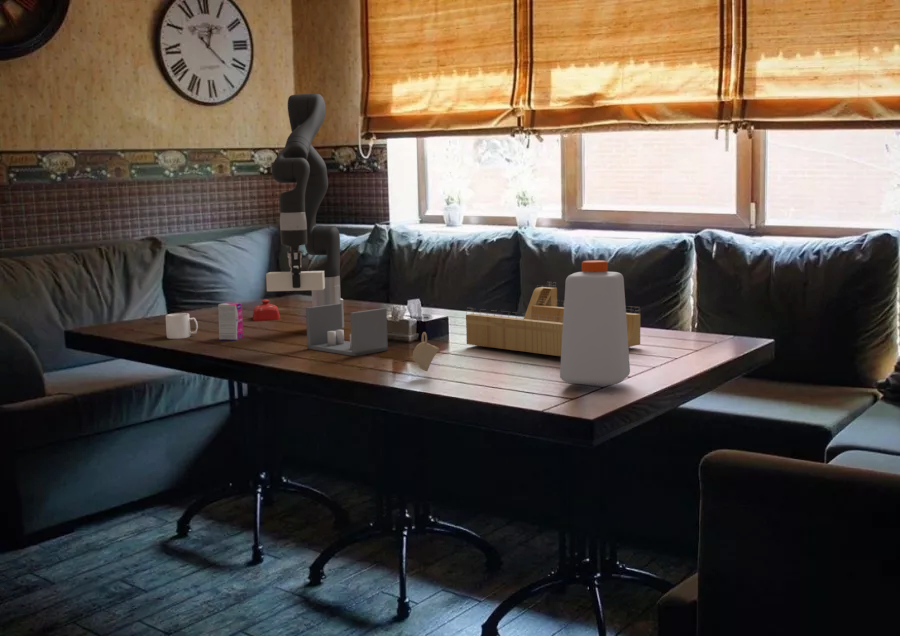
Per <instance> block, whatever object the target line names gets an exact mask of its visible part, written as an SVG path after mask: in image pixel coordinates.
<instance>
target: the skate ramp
mask: <svg viewBox="0 0 900 636" xmlns="http://www.w3.org/2000/svg"><path fill="white" fill-rule="evenodd" d="M554 283H555V285H554V284H553V287H552V286H551V281H548V286H539V287H535V288H534V289H533V292H532V295H531V297H530V301H529V303H528V306H527V309H526V311H525V312H524V313H523V315H524V316H523V318H522V316H521V315H520V316H519V315H518V317H521V318H518V317H512V315H511V314H510V311H507V312H508V313H507V314H508V315H507V316H508V317H507V316H501V313H498V315H500V316H498V315H497V316H496V313H495V312H496V310H493V309H492V311H493V315H490V314H491V313H489V312H487V313H486V314H482V312H481V311H479V312H477V313H475V309H474V308H473V307H471V306H469V307H468V309H471V310H467V313H468V312H469V313H470V314H465V325H466V327H465V329H466V331H465V332H466V345H472V346H477V347H478V346H479V347H486V348H495V349H501V350H502V349H503V350H508V351H509V350H510V351H517V352H518V351H519V352H525V353H533V354H541V355H548V356H556V357H561V349H562V333H563V317H564V300H562V302H563V304H562V305H563V306H558V301H559V299H558V288H557V287H556V286H557V282H555V281H554ZM629 307H630V312H626V320H627V335H628V348H631V347H635V346H636V347H637V346H640V345H641V313H636V312H641V309H639V306H636V309H637V308H638V310H636V312H634V313H633V309H632V308H634V306H630V305H629ZM481 310H483V311H484V310H485V309H482V308H481ZM627 310H629V308H628V309H627V308H626V311H627ZM471 312H472V313H471ZM502 312H506V311H504V310H503V311H502ZM513 313H515V314H517V312H514V311H513ZM510 316H511V317H510Z"/></svg>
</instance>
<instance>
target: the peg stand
mask: <svg viewBox="0 0 900 636" xmlns="http://www.w3.org/2000/svg"><path fill="white" fill-rule="evenodd" d="M349 313H350V332H351V333H350V334H349V340H348V341H347V340H345V332H344V331H345V330H344V329H343V328H342V308H341V304H331V305H323V306H315V307H312V306H309V307H305V317H306V318H305V320H306V341H307V342H306V343H307V349H308V350H314V351H320V352H326V353H332V354H339V355H345V356H350V357H351V356H352V357H359V356H365V355H370V354H375V353H382V352H387V351H388V349H389V348H388V347H389V346H388V345H389V344H388V317H387V315H388V314H387V308H385V307H384V308H383V307H381V308H377V309H376V308H374V309H368V310H359V311H354V312H353V311H352V312H349Z"/></svg>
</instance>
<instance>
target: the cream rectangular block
mask: <svg viewBox="0 0 900 636" xmlns="http://www.w3.org/2000/svg"><path fill="white" fill-rule="evenodd" d="M265 277H266V278H265V279H266V280H265V281H266V282H265V283H266V292H290V291H291V292H293V291H295V292H296V291H300V292H301V291H312V290H323V289H324V288H325V278H324V271H311V270H307V271H305V270H304V271H302V270H301V273H300V288H293V283H292V274H291V271H270V272H269V271H268V272H267V273H265Z"/></svg>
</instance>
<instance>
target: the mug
mask: <svg viewBox="0 0 900 636" xmlns="http://www.w3.org/2000/svg"><path fill="white" fill-rule="evenodd" d="M190 321H194V323H195V330H194V331H191V322H190ZM165 328H166V329H165V332H166V338H167V339H170V340H171V339H173V340H175V339H180V340H181V339H186V338H190V337H191V335H193V334H197V333H198V330H199V329H198V328H199V325H198V321H197V319H196V317H190V313H186V312H184V313H183V312H174V313H169V314H165Z"/></svg>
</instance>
